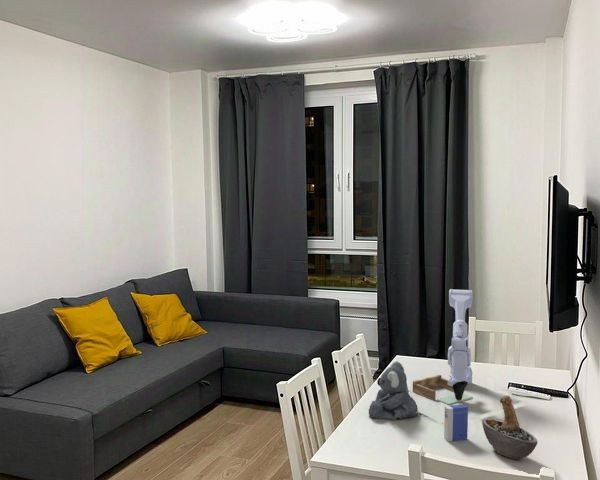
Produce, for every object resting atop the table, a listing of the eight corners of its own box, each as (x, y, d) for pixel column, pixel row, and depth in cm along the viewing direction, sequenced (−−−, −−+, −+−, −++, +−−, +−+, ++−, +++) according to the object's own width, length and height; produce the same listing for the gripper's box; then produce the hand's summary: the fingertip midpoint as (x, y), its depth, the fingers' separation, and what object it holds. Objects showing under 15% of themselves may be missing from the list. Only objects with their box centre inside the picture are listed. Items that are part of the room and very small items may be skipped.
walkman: (463, 436, 211) (464, 403, 210) (467, 439, 208) (468, 405, 207) (443, 438, 209) (443, 405, 208) (447, 441, 206) (447, 408, 205)
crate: (439, 388, 262) (439, 374, 261) (460, 395, 252) (460, 382, 251) (412, 394, 253) (412, 381, 252) (433, 403, 243) (433, 389, 242)
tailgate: (459, 392, 251) (472, 396, 245) (459, 394, 251) (472, 399, 245) (435, 398, 243) (448, 403, 237) (435, 401, 243) (448, 406, 237)
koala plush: (376, 403, 243) (377, 356, 242) (420, 408, 237) (421, 360, 236) (366, 418, 227) (367, 368, 225) (414, 424, 221) (415, 373, 219)
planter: (481, 442, 206) (483, 385, 204) (533, 448, 201) (535, 390, 199) (481, 461, 191) (483, 400, 190) (537, 468, 187) (539, 406, 185)
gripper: (459, 360, 249) (459, 392, 250) (441, 368, 238) (440, 400, 240) (475, 364, 244) (474, 396, 245) (456, 371, 233) (456, 405, 235)
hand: (458, 398), depth 242 cm, fingers closed
